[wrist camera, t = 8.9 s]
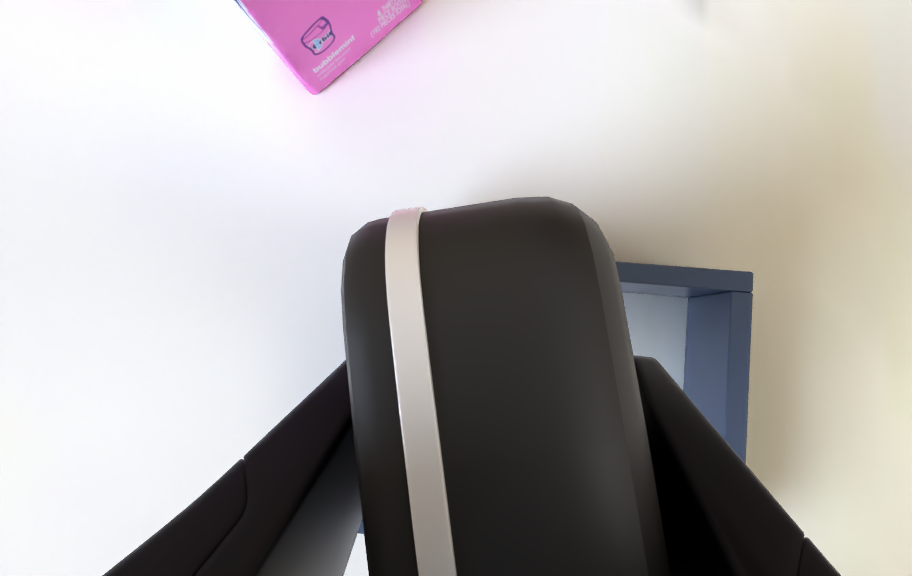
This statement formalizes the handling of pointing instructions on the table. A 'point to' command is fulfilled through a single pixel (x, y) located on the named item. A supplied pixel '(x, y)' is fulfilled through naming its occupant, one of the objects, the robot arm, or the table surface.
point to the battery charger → (496, 396)
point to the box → (707, 339)
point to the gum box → (323, 32)
